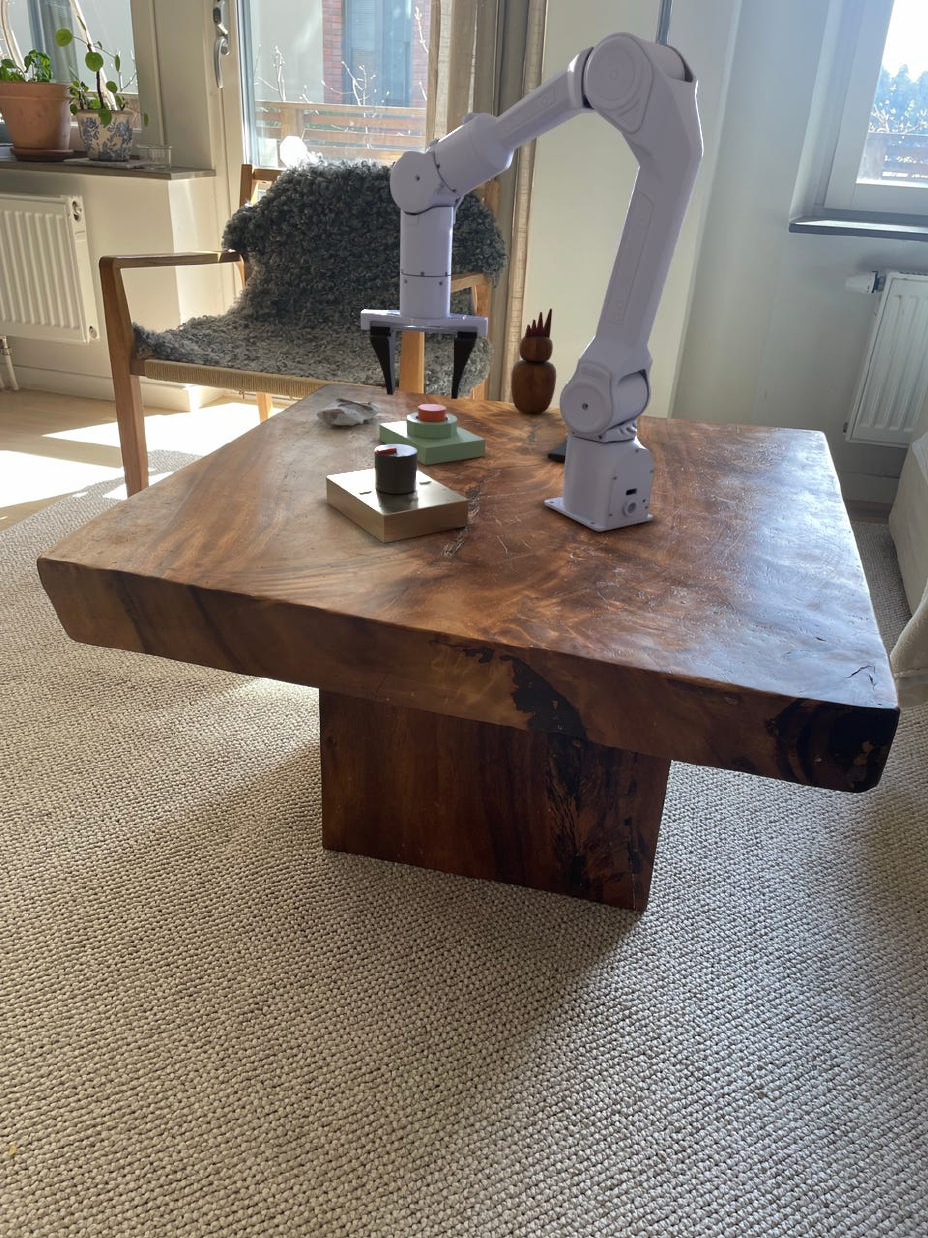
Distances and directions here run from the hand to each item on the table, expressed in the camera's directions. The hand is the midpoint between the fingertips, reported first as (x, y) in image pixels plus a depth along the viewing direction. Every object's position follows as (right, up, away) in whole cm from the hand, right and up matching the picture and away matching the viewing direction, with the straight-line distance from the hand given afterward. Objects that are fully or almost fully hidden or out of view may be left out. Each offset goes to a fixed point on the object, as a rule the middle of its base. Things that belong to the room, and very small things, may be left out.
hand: (422, 394), depth 106 cm
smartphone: (+22, -4, +13) cm, 26 cm away
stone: (-12, +1, +21) cm, 24 cm away
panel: (-2, -16, -11) cm, 19 cm away
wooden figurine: (+15, +5, +30) cm, 34 cm away
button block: (+1, -4, +11) cm, 12 cm away
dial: (-2, -13, -12) cm, 18 cm away
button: (+1, -1, +9) cm, 9 cm away
